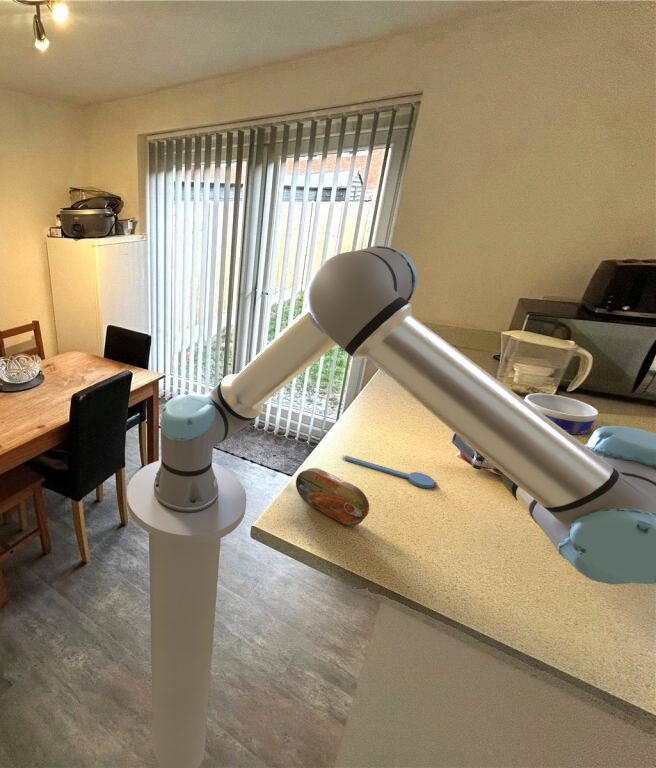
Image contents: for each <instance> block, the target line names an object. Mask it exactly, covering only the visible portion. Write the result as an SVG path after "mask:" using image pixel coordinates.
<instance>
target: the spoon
mask: <svg viewBox="0 0 656 768" xmlns="http://www.w3.org/2000/svg"><path fill="white" fill-rule="evenodd" d="M344 461H347V462H350V463H353V464H357V465H359V466H363V467H367V468H370V469H373V470H375V471H379V472H383V473H386V474H390V475H392V476H396V477H399V478H403V479H406V480H408V481H409V482H410V483H411V484H412V485H414V486H416V487H419V488H423V489H432V488H433V487H434V485H435V480H434V478H432V477H431V476H430V475H428V474H427V473H426V474H425V473H422V472H419V471H418V472H417V471H413V472H410V473H406V472H402V471H400V470H395V469H393V468H389V467H386V466H382V465H380V464H375V463H373V462H369V461H365V460H362V459H359V458H355V457H352V456H349V455H346V456H345V458H344Z"/></svg>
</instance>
